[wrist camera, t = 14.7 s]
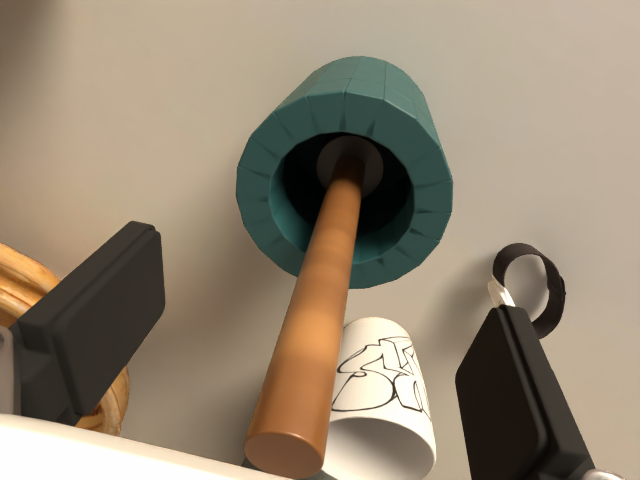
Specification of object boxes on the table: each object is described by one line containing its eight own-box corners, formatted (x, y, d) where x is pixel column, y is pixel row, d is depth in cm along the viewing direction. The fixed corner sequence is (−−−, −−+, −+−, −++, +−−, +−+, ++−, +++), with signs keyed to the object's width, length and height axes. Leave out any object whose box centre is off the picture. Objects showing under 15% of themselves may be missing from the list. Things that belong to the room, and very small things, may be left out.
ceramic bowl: (121, 431, 48) (78, 501, 42) (-77, 338, 44) (-161, 400, 38) (214, 284, 33) (169, 357, 27) (-75, 120, 29) (-215, 158, 22)
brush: (333, 104, 23) (191, 376, 7) (392, 116, 23) (399, 426, 7) (323, 160, 25) (193, 480, 9) (377, 172, 25) (354, 520, 8)
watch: (474, 247, 28) (485, 278, 25) (547, 227, 26) (568, 258, 23) (499, 325, 31) (511, 360, 28) (565, 311, 29) (585, 347, 26)
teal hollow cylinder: (297, 41, 23) (241, 68, 14) (451, 73, 22) (489, 120, 14) (280, 183, 27) (231, 265, 19) (406, 210, 27) (414, 307, 19)
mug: (304, 375, 38) (280, 484, 29) (284, 309, 34) (249, 413, 25) (427, 375, 35) (439, 493, 27) (422, 302, 31) (433, 417, 23)
